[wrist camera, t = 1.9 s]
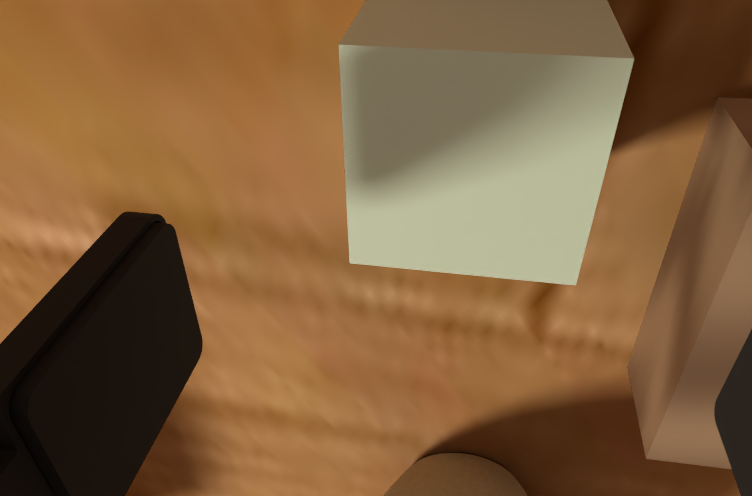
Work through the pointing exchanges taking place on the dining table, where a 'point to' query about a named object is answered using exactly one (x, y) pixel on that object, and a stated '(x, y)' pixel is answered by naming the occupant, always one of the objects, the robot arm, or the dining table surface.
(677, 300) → the brown flat block
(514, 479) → the flower pot
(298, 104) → the dining table surface
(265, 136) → the dining table surface
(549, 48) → the sage cube
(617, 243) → the dining table surface
